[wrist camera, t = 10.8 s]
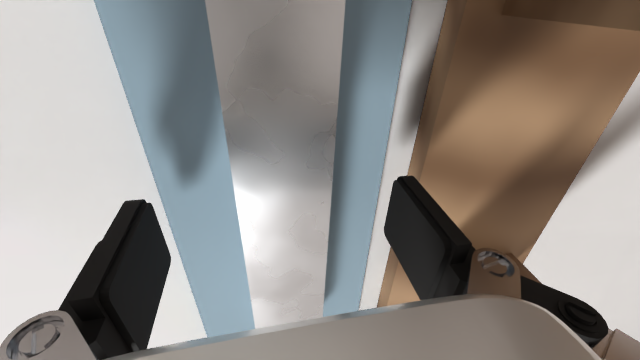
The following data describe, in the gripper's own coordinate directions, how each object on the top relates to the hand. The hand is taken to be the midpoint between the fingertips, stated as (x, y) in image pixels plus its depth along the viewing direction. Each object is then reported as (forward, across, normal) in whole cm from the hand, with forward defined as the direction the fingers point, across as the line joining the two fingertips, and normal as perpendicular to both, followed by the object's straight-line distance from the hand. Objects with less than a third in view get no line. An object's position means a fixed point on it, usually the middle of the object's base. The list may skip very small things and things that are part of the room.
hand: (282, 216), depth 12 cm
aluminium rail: (+2, 0, 0) cm, 2 cm away
